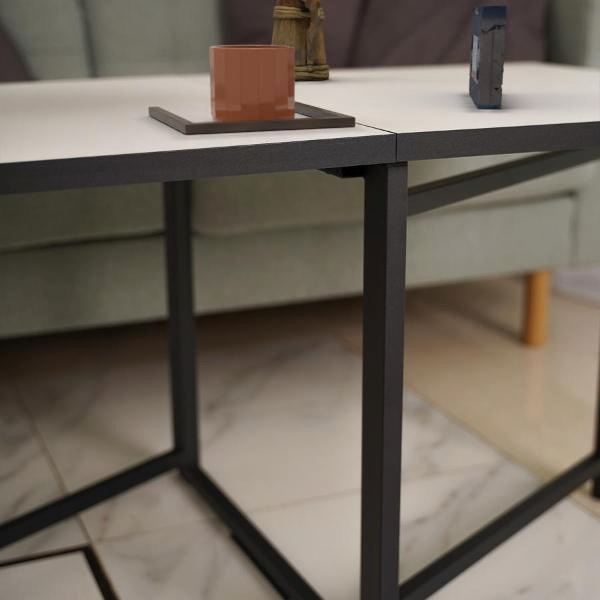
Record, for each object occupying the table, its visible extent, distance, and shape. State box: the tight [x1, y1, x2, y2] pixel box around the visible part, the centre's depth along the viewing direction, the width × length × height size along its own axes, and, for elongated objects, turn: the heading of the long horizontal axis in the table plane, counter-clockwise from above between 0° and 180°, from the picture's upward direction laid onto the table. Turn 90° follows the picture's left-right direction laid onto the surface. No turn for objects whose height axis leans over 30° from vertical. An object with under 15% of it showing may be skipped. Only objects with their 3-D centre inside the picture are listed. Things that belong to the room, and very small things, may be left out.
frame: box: [147, 101, 356, 135], centre depth 82 cm, size 15×14×1 cm
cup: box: [208, 44, 296, 122], centre depth 80 cm, size 7×7×6 cm
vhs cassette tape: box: [468, 5, 508, 110], centre depth 99 cm, size 18×3×10 cm, turn 171°
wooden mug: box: [270, 0, 330, 82], centre depth 125 cm, size 9×14×18 cm, turn 22°
